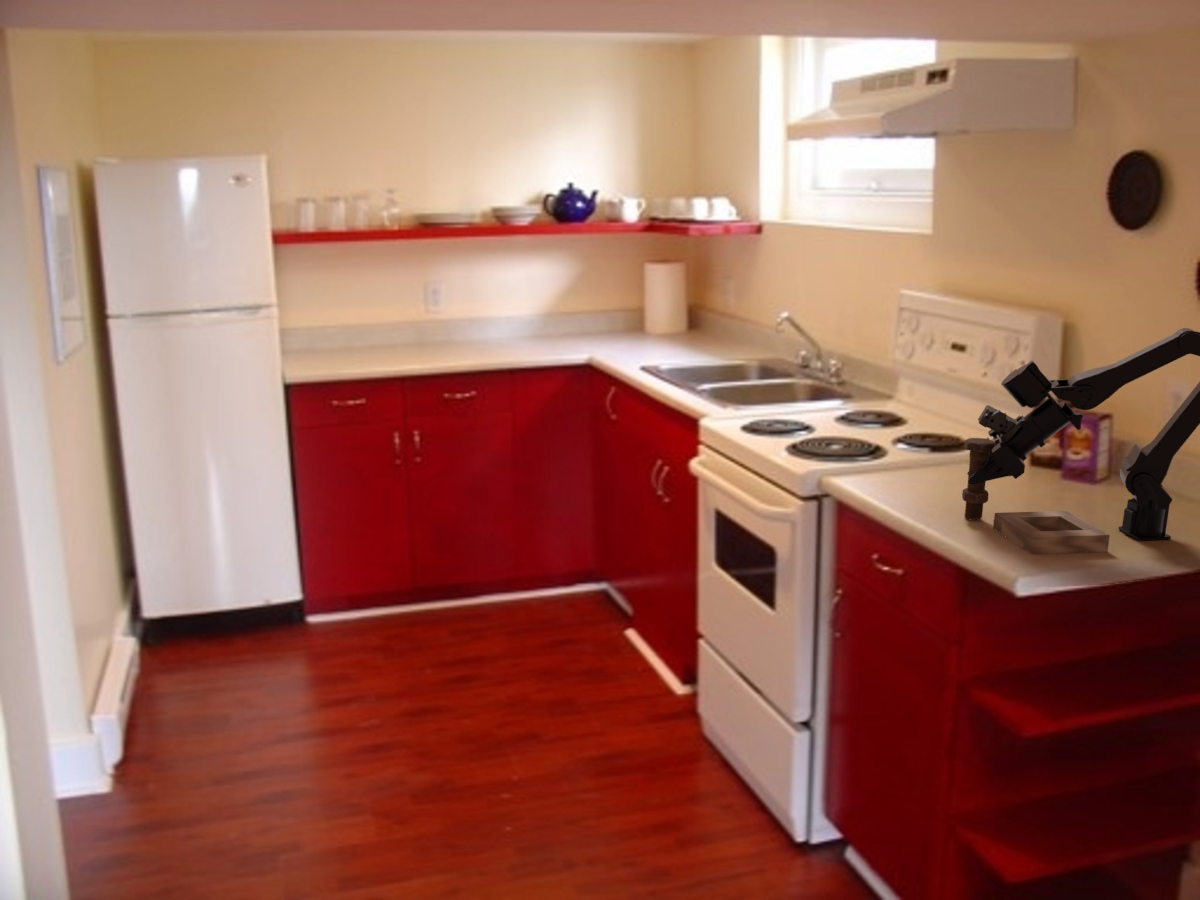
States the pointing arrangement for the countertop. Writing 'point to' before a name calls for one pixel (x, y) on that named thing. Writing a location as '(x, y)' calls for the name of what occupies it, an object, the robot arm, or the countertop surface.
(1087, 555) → the countertop surface
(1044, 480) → the countertop surface
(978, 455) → the bolt
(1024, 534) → the jig
